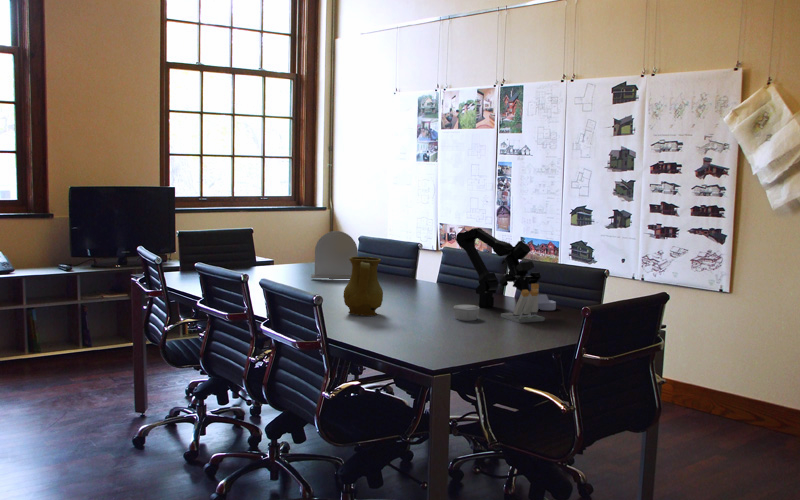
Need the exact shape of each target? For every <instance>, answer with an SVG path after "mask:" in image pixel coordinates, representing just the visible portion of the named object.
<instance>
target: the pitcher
mask: <svg viewBox="0 0 800 500" xmlns="http://www.w3.org/2000/svg"><path fill="white" fill-rule="evenodd" d="M349 260H350V261H351V263H352V274H351V278H350V281H348V282H347V285H345V287H344V289H343V301H344V305H345V306H346V307H347V308H348V309H349V311H348V312H347V313H348V314H351V315H354V316H355V315H356V316H363V317H369V316H370V317H372V316H378V313H377V312H376V310H377V309H378V308H381V307H382V305H383V301H384V299H383V298H384V290H383V288H382V286H381V284H380V282H379V279H378V266H379V264H380V263H381V262H382V259H381V258H379V257H371V256H358V257H350V258H349Z"/></svg>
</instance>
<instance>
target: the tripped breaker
mask: <svg viewBox="0 0 800 500" xmlns="http://www.w3.org/2000/svg"><path fill="white" fill-rule="evenodd" d="M539 288H540V283H535V284H531V285H530V290H531V289H537V291H538V292H539V290H540V289H539ZM539 293H540V292H539ZM538 295H539V294H538ZM538 295H537V297H536V299H535V302H534V304H533V306H532V309H531V311H530V313H531V315H538V312H539V309H538Z"/></svg>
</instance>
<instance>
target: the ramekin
mask: <svg viewBox="0 0 800 500" xmlns="http://www.w3.org/2000/svg"><path fill="white" fill-rule="evenodd" d="M480 308H481V307H479V306H478V305H474V304H457V305H454V306H453V311H454V318H455V319H456V320H458V321H464V322H465V321H466V322H470V321H471V322H472V321H476V320H477V319H478V316H479V312H480Z"/></svg>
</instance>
